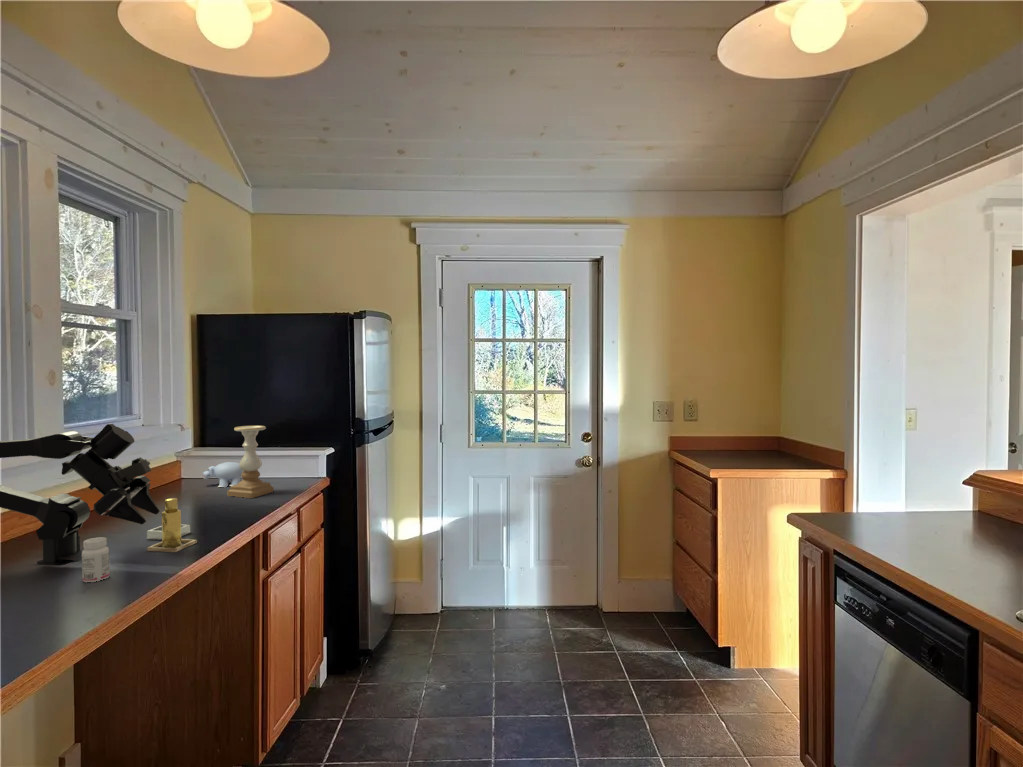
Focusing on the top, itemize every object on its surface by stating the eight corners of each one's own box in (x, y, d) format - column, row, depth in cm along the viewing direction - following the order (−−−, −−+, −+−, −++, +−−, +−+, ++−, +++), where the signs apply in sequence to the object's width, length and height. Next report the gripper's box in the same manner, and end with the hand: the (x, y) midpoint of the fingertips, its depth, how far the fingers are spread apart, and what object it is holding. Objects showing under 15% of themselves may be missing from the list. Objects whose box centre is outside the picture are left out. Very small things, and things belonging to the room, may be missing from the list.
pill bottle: (105, 573, 126) (104, 535, 126) (112, 578, 123) (112, 539, 123) (79, 579, 122) (78, 540, 122) (85, 584, 119) (85, 544, 119)
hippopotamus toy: (204, 483, 222) (204, 459, 222) (247, 481, 228) (247, 457, 227) (201, 489, 212) (200, 463, 212) (245, 486, 218) (245, 461, 217)
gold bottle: (167, 552, 137) (166, 502, 137) (159, 549, 139) (158, 499, 139) (184, 547, 140) (183, 499, 140) (176, 544, 143) (176, 496, 142)
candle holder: (249, 489, 211) (249, 424, 210) (274, 491, 208) (273, 425, 207) (226, 496, 201) (225, 427, 200) (252, 498, 197) (251, 429, 196)
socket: (171, 546, 145) (171, 532, 145) (146, 544, 146) (146, 531, 146) (190, 537, 152) (190, 524, 152) (166, 536, 153) (166, 523, 153)
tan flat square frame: (175, 558, 136) (175, 549, 136) (146, 556, 137) (146, 547, 137) (197, 548, 143) (197, 539, 143) (170, 547, 144) (169, 538, 144)
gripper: (109, 454, 128) (165, 502, 131) (141, 443, 146) (189, 485, 149) (68, 491, 126) (125, 538, 129) (105, 475, 144) (154, 517, 147)
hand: (151, 517), depth 139 cm, fingers open, 9 cm apart
